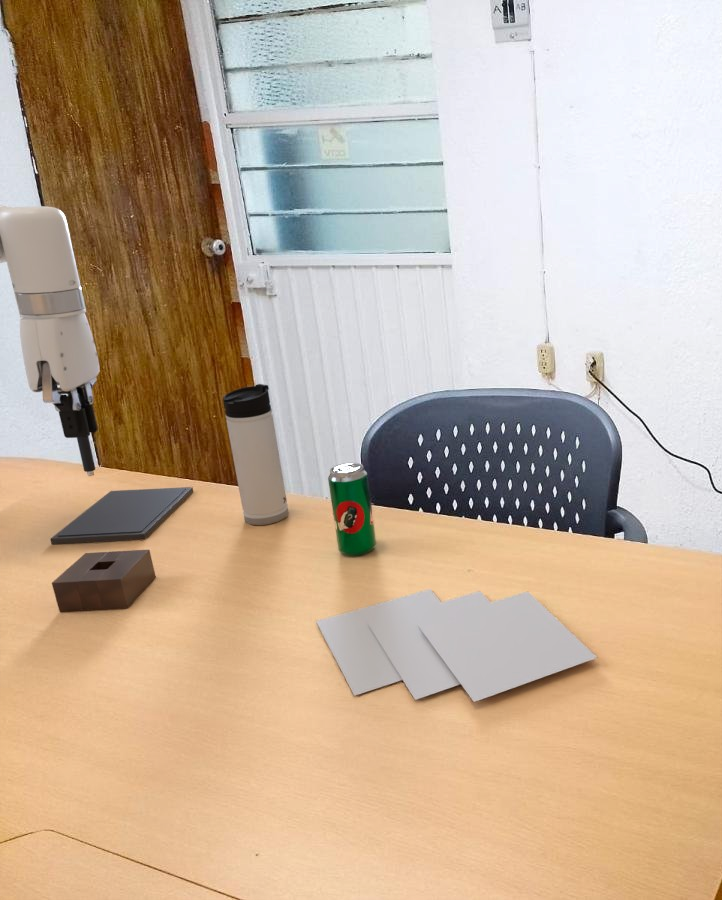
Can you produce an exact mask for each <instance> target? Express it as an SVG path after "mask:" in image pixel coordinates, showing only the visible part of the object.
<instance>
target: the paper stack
mask: <svg viewBox="0 0 722 900" xmlns="http://www.w3.org/2000/svg"><path fill="white" fill-rule="evenodd" d="M315 623H316V624H317V626H318V628H319V631H320V632H321V634H322V636H323V638H324V640H325V642H326V644H327V645H328V648H329V650H330V651H331V653H332V655H333V657H334V659H335V661H336V663H337V665H338V667H339V669H340V671H341V673H342V675H343V676H344V678H345V680H346V682H347V684H348V686H349V688H350V690H351V692H352V694H353V696H358V695H361V694H364V693H368V692H370V691H373V690H376V689H379V688H383V687H386V686H388V685H392V684H395V683H398V682H400V681H403V683H404V684H405V686H406V688H407V690H408V691H409V692H410V694H411V695H412V698H413V699H414V701H416V700H419V699H422V698H425V697H428V696H431V695H434V694H436V693H441V692H443V691H446V690H448V689H451V688H454V687H457V686H461V687H462V688H463V689H464V690H465V692H466V693H467V694H468V696H469V698H470V699H471V700H472V701H473V703H476V702H478V701H481V700H484V699H487V698H489V697H492V696H496V695H498V694H500V693H504V692H506V691H509V690H512V689H514V688H517V687H521V686H524V685H526V684H529V683H532V682H534V681H537V680H539V679H540V680H541V679H543V678H545V677H548V676H551V675H554V674H557V673H559V672H561V671H562V672H563V671H565V670H568V669H571V668H573V667H575V666H579V665H581V664H585V663H587V662H590V661H593V660H595V659H598V657H597V656H598V655H596V654H594V652H592V651H591V650H590V649H589V648H588V647H587V646H586V645H585V643H583V642H582V641H581V640H580V639H579V638H578V637H577V636H576V635H574V633H572V631H570V630H569V629H568V628H567V627H566V626H565V625H564V624H563V623H562V622H561V621H560V620H559V619H558V618H557V617H556V616H555V615H554V614H553V613H551V611H549V610H548V608H546V607H545V606H544V605H543V604H542V603H541V602H540V601H539V600H538V599H536V597H534V595H533V594H532V593H530V592H529V591H527V590H526V591H524V592H521V593H518V594H513V595H511V596H507V597H504V598H500V599H497V600H494V601H490V600H489V598H487V597H486V596H485V595H484V594H483V592H482V591H481V590H479V591H474V592H471V593H468V594H465V595H461V596H458V597H457V596H456V597H454V598H451V599H447V600H444V601H441V600H440V599H439V597H438V596H437V595H436V594H435V593H434V591H433V590H432V589H431V588H428V589H425V590H421V591H418V592H414V593H411V594H406V595H404V596H399V597H396V598H393V599H390V600H385V601H382V602H379V603H376V604H371V605H368V606H364V607H360V608H358V609H357V608H356V609H354V610H351V611H347V612H343V613H340V614H337V615H333V616H329V617H326V618H325V617H324V618H321V619H319V620H316V621H315Z"/></svg>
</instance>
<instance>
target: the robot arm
mask: <svg viewBox="0 0 722 900" xmlns="http://www.w3.org/2000/svg"><path fill="white" fill-rule="evenodd" d="M74 253H75V252H74V249H73V244H72V240H71V235H70V230H69V226H68V222H67V218H66V215H65V214H64V212H63V211H62V210H61V209H59V208H58V207H54V206H47V205H46V206H44V205H38V206H37V205H36V206H35V205H34V206H13V207H12V206H7V205H1V204H0V264H2V263H6V264H7V269H8V273H9V276H10V277H9V278H10V281H11V285H12V290H13V292H14V293H13V294H14V297H15V301H16V305H17V310H18V313H19V314H18V315H19V318H20V319H19V336H20V337H19V338H20V346H21V353H22V358H23V364H24V369H25V374H26V379H27V383H28V387H29V389H30V390H31V391H32V392H33V393H41V392H42V402H43V404H44V403H45V404H51V405H53V406H54V409H55V411H56V412H58V415H59V419H60V423H61V429H62V432H63V436H64V437H65V438H66V439H77V438H82V437H90V436H91V433H96V432H98V430H99V428H98V423H97V419H96V413H95V410H94V406H93V403H94V395H93V388H94V387H93V386H94V385H95V384H96V382H97V376H99V374H100V373H101V372H100V371H101V369H100V362H99V361H100V360H99V356H98V351H97V346H96V343H95V340H94V336H93V332H92V330H91V327H90V324H89V323H90V322H89V321H88V318H87V316H86V313H87V308H86V305H85V304H86V303H85V299H84V294H83V291H82V285H81V280H80V275H79V272H78V266H77V262H76V258H75V254H74ZM77 393H78V394H79V395H80V400H81V404H82V409H80V408H81V406H80V402H79V398H78V394H77ZM68 395H69V397H68Z"/></svg>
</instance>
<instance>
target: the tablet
mask: <svg viewBox="0 0 722 900" xmlns="http://www.w3.org/2000/svg"><path fill="white" fill-rule="evenodd" d="M193 493H194V487H193V486H185V487H161V488H143V489H142V488H141V489H123V490H121V489H119V490H110V491H109V492H107V493H106V494H105V495H104V496H102V497H101V498H100V499H99V500H96V502H95V503H94V504H92V505H90V506H89V508H87V509H86V510H84V511H83V512H82V513H81V514H80V515H78V516H77V517H76V518H75V519H73V520H72V521H71V522H70V523H68V524H67V525H65V527H63V528H61V530H59V531H58V532H57V533H55V534H54V535H53V536H52V537H50V539H49V540H50V543H51V545H65V544H67V545H68V544H85V543H86V544H87V543H103V542H104V543H105V542H106V543H107V542H122V541H123V542H124V541H143V540H146V539H147V538H149V537H150V535H152V533H154V531H155V530H157V529H158V528H159V527H160V525H162V524H163V523H164V522H165V521H166V520H167V519H168V518H169V517H170V516H171V515H172V513H174V512H175V511H176V510H177V509H178V508H179V507H180V506H181V505H182V504H183V503H184V502H185V501H186V500H187V499H188V498H189V497H190V496H191V495H192V494H193Z"/></svg>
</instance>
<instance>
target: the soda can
mask: <svg viewBox="0 0 722 900" xmlns="http://www.w3.org/2000/svg"><path fill="white" fill-rule="evenodd" d="M368 476H369V475H368V472H367V471H366V469H365V468H364V465H363V464H362V463H358V462H345V463H340V464H336V465H333V467H331V468H330V469H329V475H328V478H327V481H328V487H329V494H330V501H331V502H330V503H331V508H332V515H333V521H334V528H335V537H336V542H337V548H338V551H339V552H340V553H341V554H343V555H345V556H347V557H348V556H349V557H356V556H363V555H366V554H368V553H370V552H372V551H373V550H374V548H375V546H376V545H377V538H376V537H377V536H376V530H375V523H374V515H373V507H372V500H371V491H370V485H369V477H368Z"/></svg>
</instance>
